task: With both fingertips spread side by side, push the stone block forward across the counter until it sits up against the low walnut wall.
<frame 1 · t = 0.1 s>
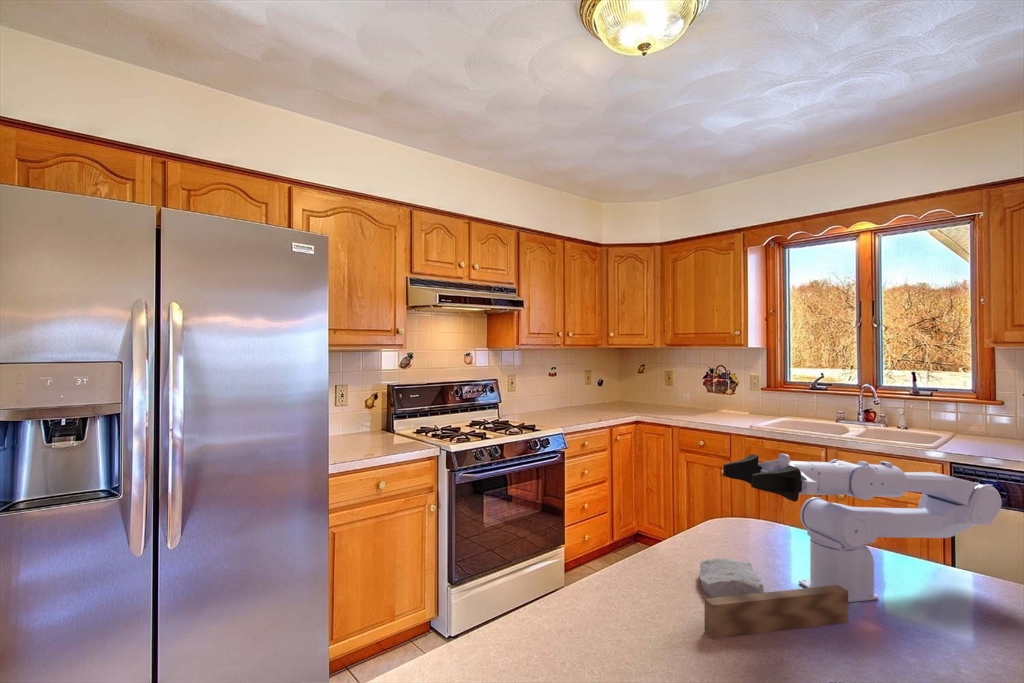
hand: (737, 475, 86), 22 cm above the counter, tool horizontal, fingers open, 7 cm apart
walnut wall: (777, 626, 78), on the counter
stone block: (727, 590, 91), on the counter
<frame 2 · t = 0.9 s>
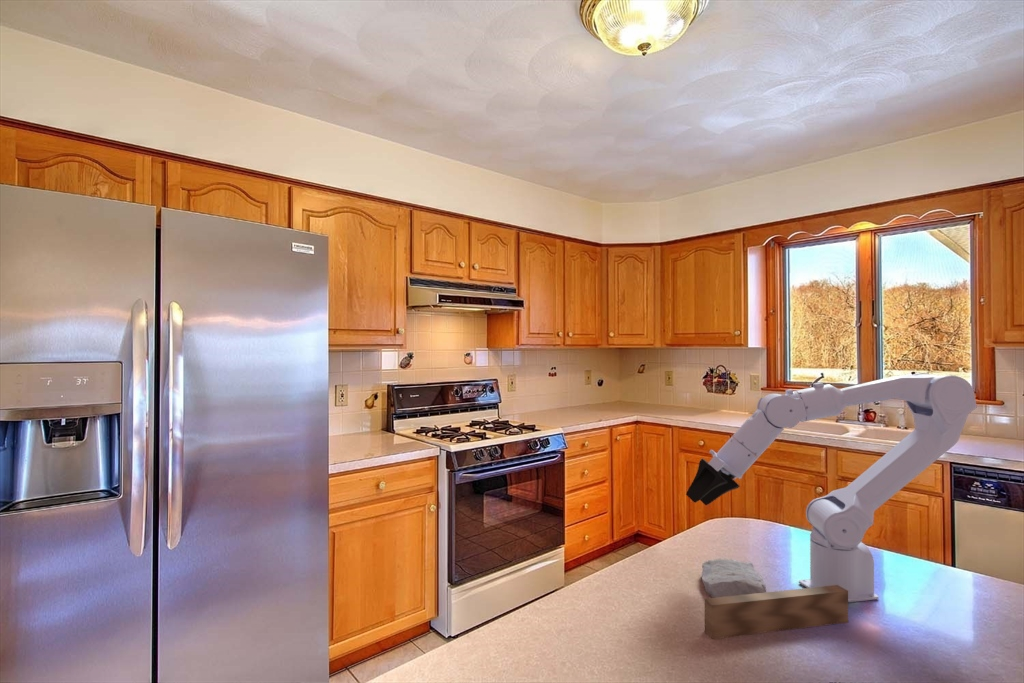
hand: (696, 500, 95), 15 cm above the counter, tool tilted 40°, fingers open, 7 cm apart
nothing on the counter moved.
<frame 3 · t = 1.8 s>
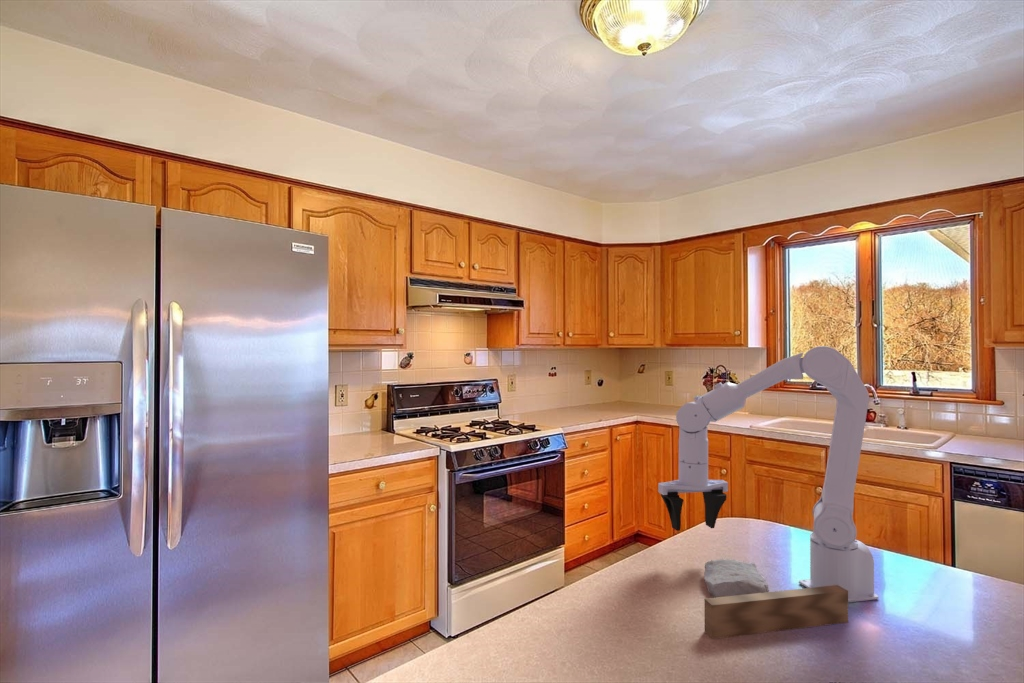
hand: (693, 527, 102), 7 cm above the counter, tool pointing down, fingers open, 7 cm apart
nothing on the counter moved.
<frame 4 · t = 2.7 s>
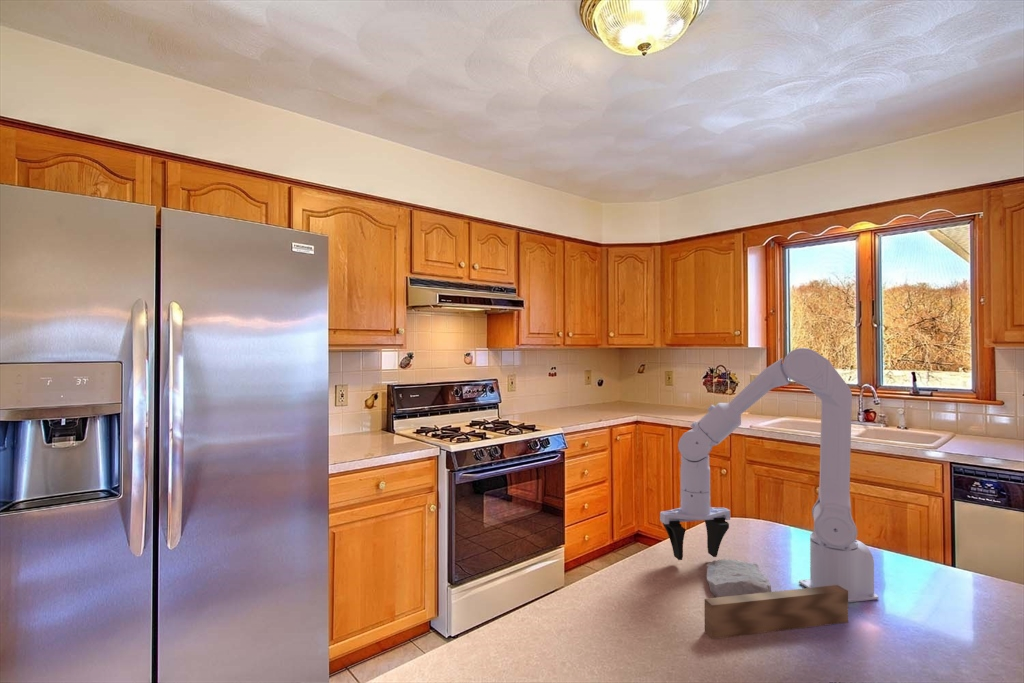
hand: (695, 556, 101), 1 cm above the counter, tool pointing down, fingers open, 7 cm apart
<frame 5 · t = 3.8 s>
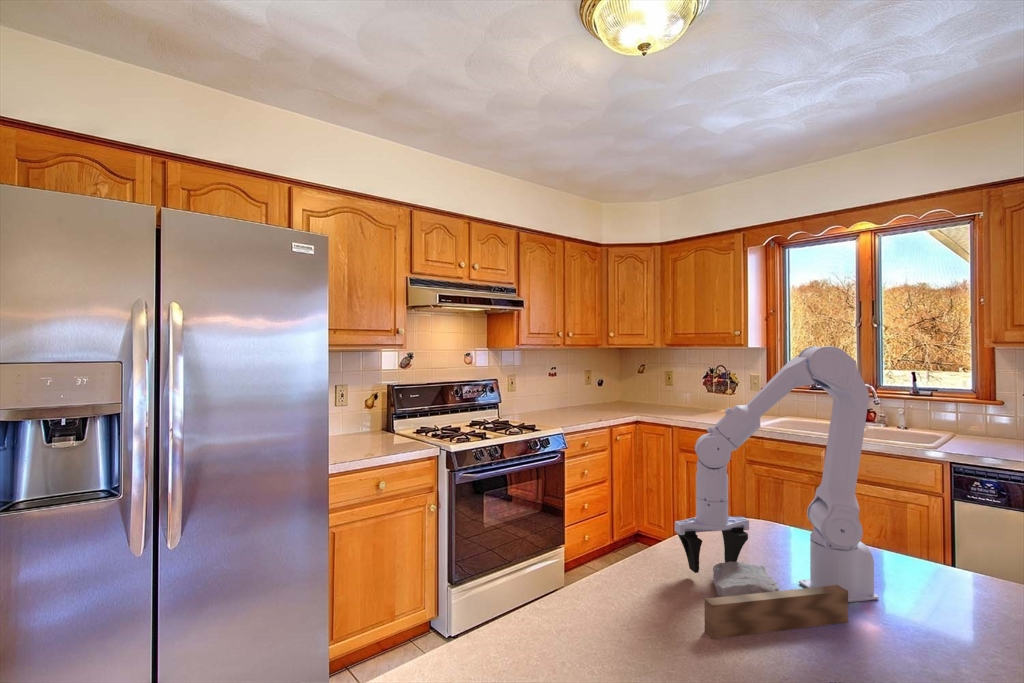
hand: (712, 568, 95), 1 cm above the counter, tool pointing down, fingers open, 7 cm apart
stone block: (741, 594, 89), on the counter, touching gripper
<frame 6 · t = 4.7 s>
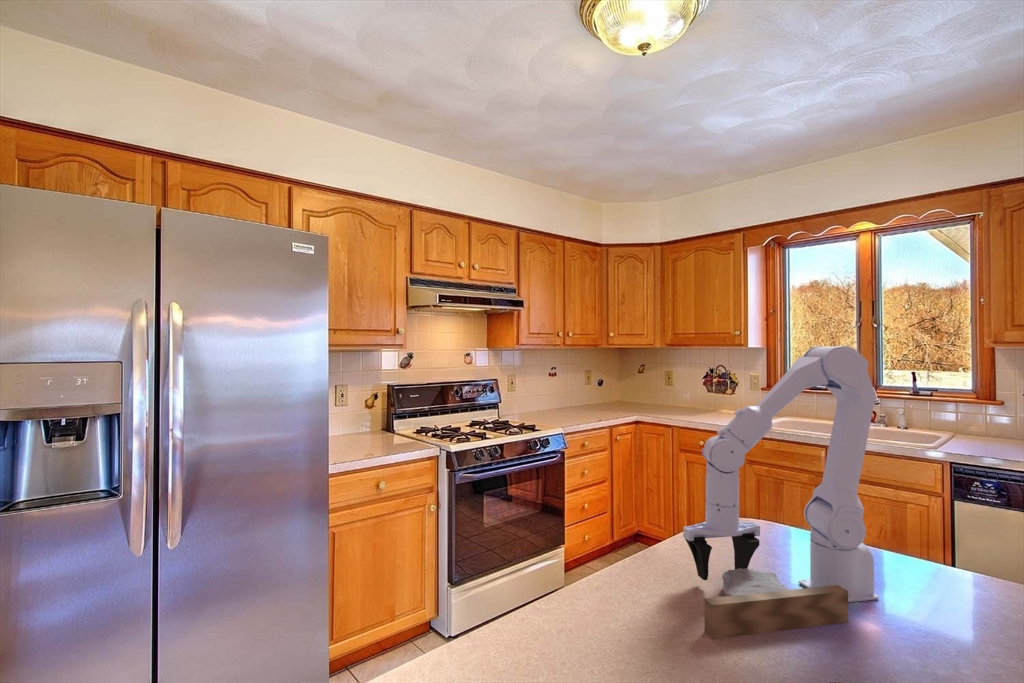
hand: (721, 576, 92), 2 cm above the counter, tool pointing down, fingers open, 7 cm apart
stone block: (753, 603, 86), on the counter, touching gripper, walnut wall
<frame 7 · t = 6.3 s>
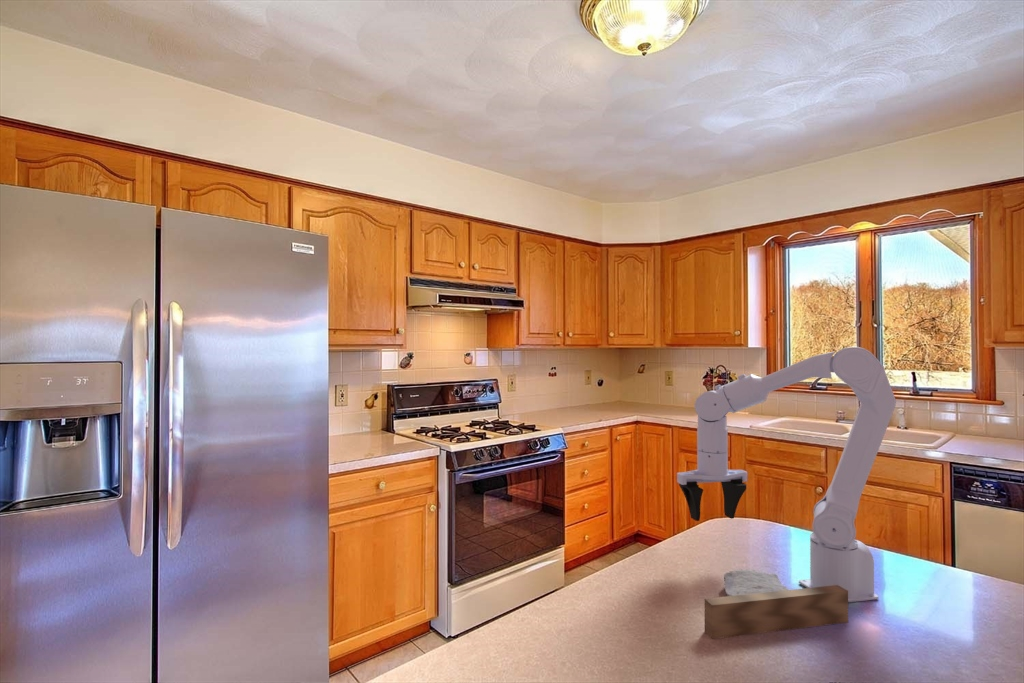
hand: (712, 518, 100), 9 cm above the counter, tool pointing down, fingers open, 7 cm apart
stone block: (754, 604, 86), on the counter
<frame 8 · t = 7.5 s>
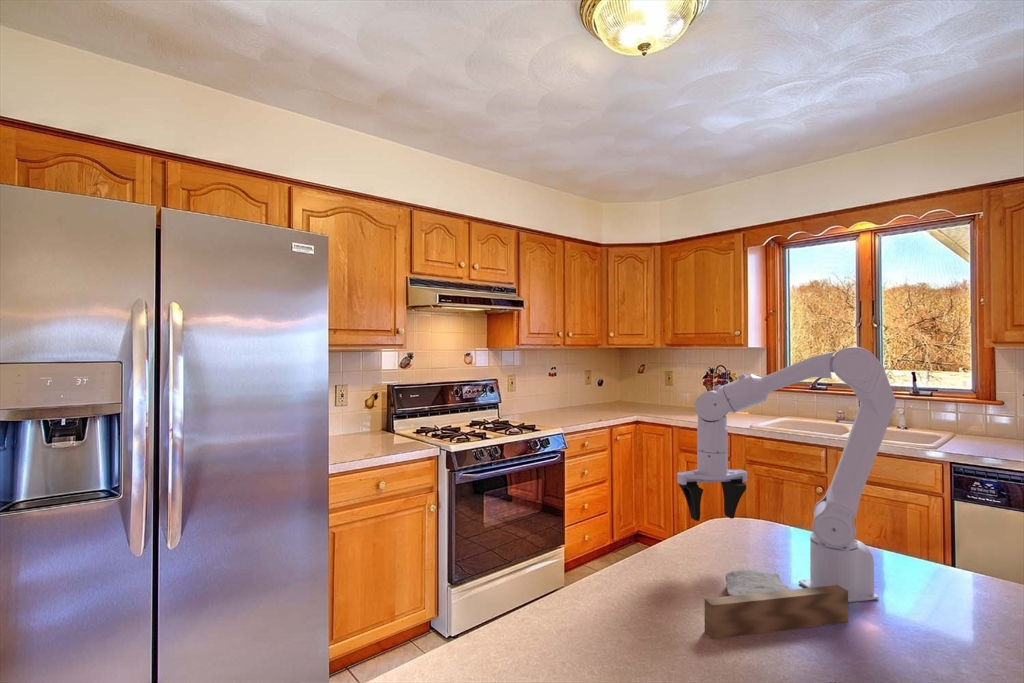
hand: (712, 518, 100), 9 cm above the counter, tool pointing down, fingers open, 7 cm apart
nothing on the counter moved.
at the end: stone block inside the target area (2.3 cm from its centre), on the counter; stone block tilted 0° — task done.
